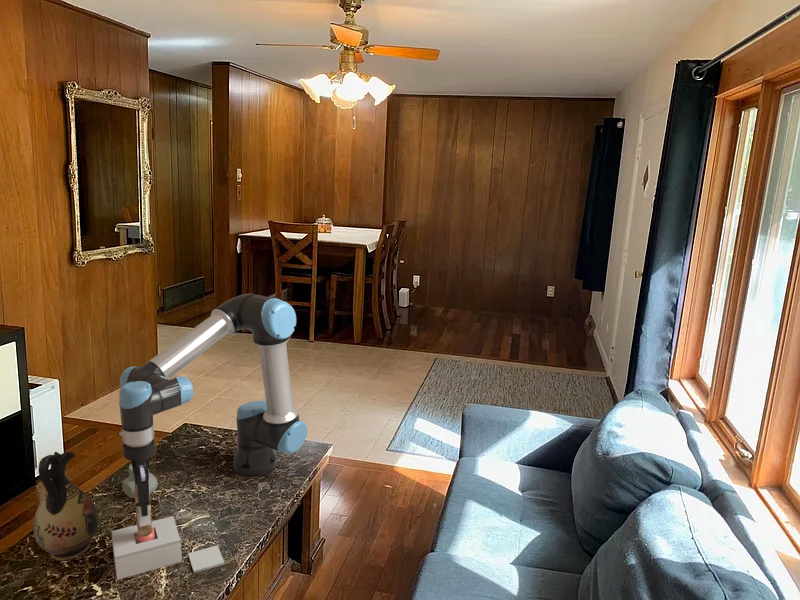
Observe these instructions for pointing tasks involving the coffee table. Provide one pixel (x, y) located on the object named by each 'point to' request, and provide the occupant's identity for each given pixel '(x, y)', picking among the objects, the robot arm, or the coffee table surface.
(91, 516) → the ceramic jug
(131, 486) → the air freshener
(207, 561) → the pad
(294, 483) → the coffee table surface
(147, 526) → the tan wooden rod
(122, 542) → the box
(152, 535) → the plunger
